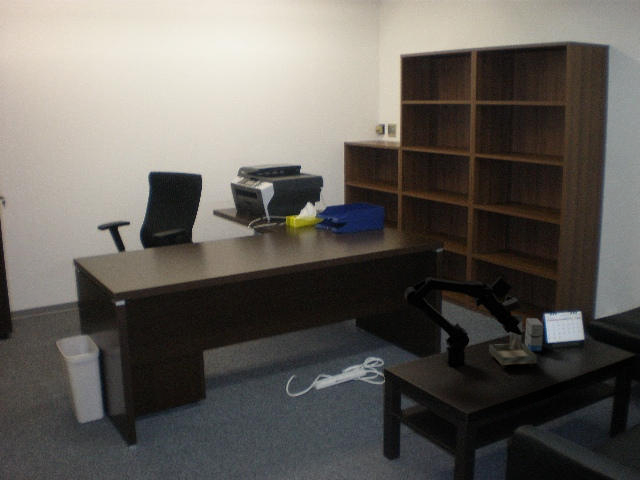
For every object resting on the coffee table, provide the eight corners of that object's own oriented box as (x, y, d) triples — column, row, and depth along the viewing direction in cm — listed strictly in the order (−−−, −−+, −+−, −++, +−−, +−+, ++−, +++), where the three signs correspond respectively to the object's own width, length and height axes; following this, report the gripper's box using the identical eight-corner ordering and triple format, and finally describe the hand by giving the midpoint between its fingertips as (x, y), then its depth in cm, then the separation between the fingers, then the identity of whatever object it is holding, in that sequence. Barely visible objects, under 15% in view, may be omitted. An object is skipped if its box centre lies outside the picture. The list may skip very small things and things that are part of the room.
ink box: (542, 351, 274) (543, 324, 271) (530, 351, 274) (531, 324, 272) (535, 343, 282) (537, 317, 280) (524, 343, 282) (525, 317, 280)
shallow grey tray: (501, 370, 256) (502, 357, 254) (488, 356, 269) (489, 344, 268) (535, 368, 257) (536, 356, 256) (521, 354, 271) (522, 343, 269)
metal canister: (515, 350, 259) (517, 319, 256) (506, 347, 263) (508, 316, 260) (523, 348, 261) (525, 317, 258) (514, 344, 265) (516, 314, 262)
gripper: (515, 299, 248) (542, 326, 250) (501, 285, 266) (526, 311, 268) (493, 319, 249) (520, 346, 252) (481, 303, 267) (506, 329, 270)
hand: (519, 332), depth 260 cm, fingers closed on metal canister, 4 cm apart
